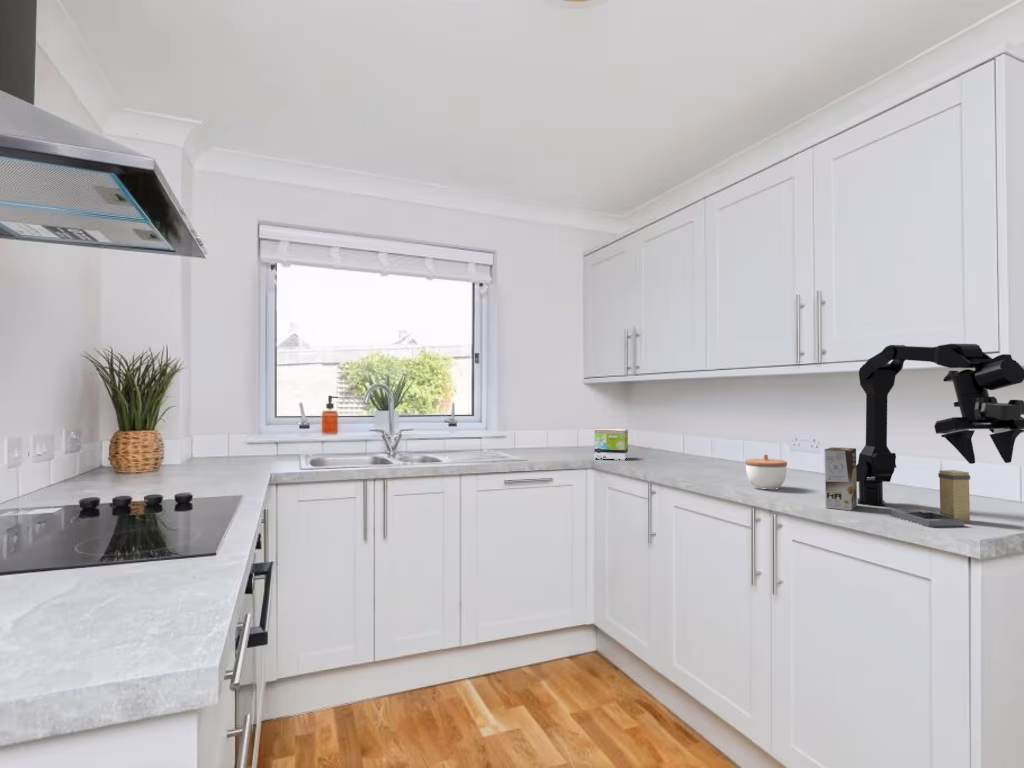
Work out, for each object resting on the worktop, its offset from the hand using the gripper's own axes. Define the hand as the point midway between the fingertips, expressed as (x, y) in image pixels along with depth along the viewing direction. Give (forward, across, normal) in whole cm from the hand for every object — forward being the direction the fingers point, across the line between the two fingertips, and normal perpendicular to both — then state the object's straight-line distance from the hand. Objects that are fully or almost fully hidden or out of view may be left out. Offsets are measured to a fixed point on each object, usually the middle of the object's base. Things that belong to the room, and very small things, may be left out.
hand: (990, 463), depth 124 cm
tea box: (-22, -38, +152) cm, 158 cm away
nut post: (+12, +3, +15) cm, 19 cm away
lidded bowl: (0, -14, +65) cm, 66 cm away
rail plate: (+12, -5, +15) cm, 20 cm away
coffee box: (+8, -12, +34) cm, 37 cm away
